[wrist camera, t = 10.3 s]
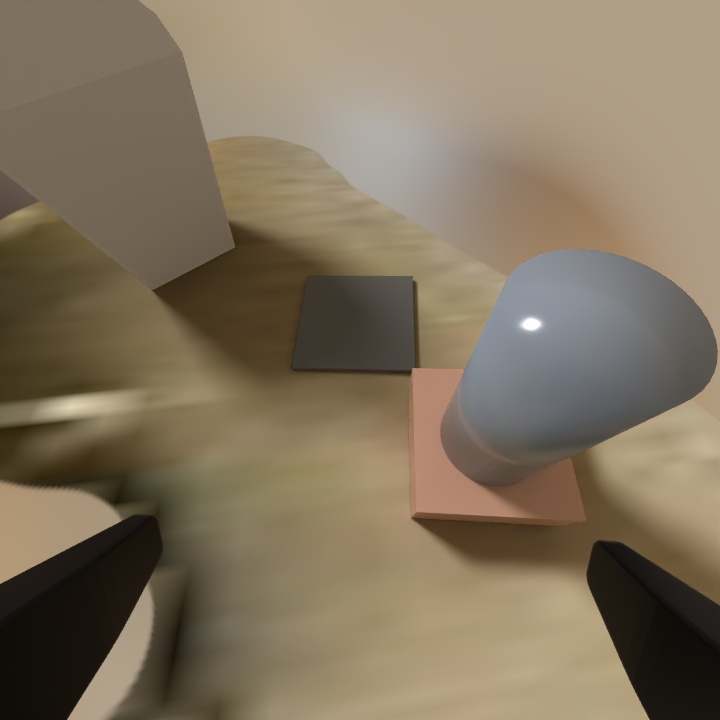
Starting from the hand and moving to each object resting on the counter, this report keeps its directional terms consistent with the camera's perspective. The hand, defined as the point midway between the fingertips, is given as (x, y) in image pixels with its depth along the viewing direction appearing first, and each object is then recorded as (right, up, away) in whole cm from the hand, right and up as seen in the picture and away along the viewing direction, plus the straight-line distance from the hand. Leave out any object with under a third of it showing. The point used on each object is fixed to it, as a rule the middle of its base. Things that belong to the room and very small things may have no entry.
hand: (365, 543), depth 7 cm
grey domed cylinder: (+7, 0, +11) cm, 13 cm away
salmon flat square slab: (+7, -2, +14) cm, 16 cm away
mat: (0, +7, +20) cm, 21 cm away
